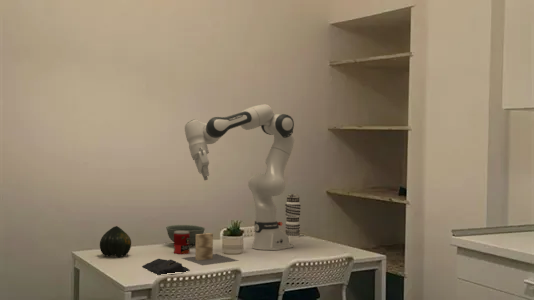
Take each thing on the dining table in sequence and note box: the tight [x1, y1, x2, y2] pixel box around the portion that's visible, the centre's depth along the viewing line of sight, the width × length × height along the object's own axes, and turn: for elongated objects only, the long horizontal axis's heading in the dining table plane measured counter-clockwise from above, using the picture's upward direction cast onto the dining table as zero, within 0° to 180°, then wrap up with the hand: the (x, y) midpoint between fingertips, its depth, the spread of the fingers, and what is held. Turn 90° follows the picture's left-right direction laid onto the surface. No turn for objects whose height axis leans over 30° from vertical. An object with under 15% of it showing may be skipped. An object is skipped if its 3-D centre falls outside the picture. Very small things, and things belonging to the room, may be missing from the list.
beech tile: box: [194, 232, 214, 260], centre depth 304 cm, size 8×2×12 cm, turn 127°
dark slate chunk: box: [141, 258, 191, 276], centre depth 282 cm, size 15×22×5 cm
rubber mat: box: [181, 253, 240, 266], centre depth 303 cm, size 20×20×1 cm
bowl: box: [166, 224, 206, 247], centre depth 342 cm, size 21×21×10 cm
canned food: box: [173, 231, 190, 255], centre depth 319 cm, size 8×8×11 cm
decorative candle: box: [284, 193, 301, 238], centre depth 378 cm, size 9×9×25 cm
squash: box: [99, 225, 132, 258], centre depth 311 cm, size 14×15×15 cm
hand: (206, 177), depth 313 cm, fingers open, 8 cm apart
